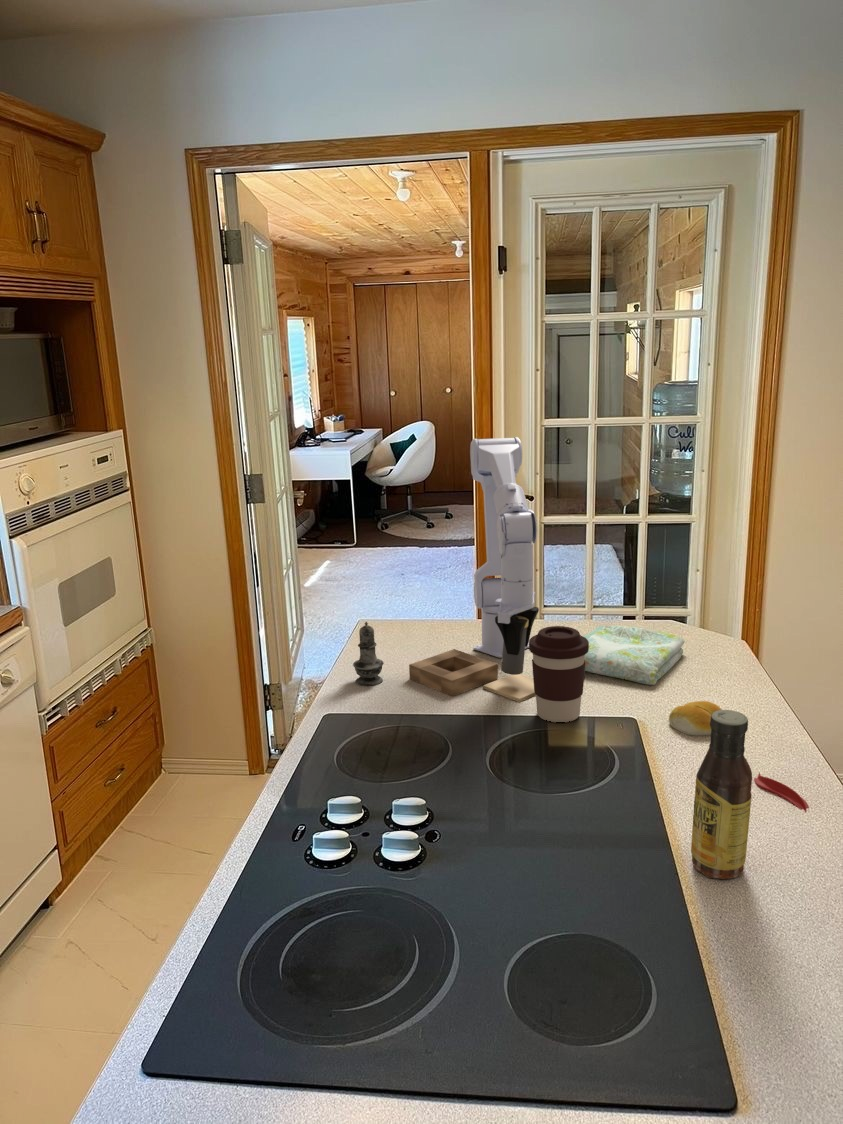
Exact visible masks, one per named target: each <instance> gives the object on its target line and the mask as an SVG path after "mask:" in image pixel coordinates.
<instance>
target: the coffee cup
mask: <svg viewBox="0 0 843 1124" xmlns="http://www.w3.org/2000/svg"><path fill="white" fill-rule="evenodd" d="M583 636H584V635H581V633H580V631H578V629H576V628H574V627H569V626H564V625H563V626H562V625H561V626H560V625H555V626H552V625H551V626H547V627H543V628H541V629H540V630H538V632H537V634H535V635H533V636H531V637H530V638H529V642H528V644H529V648H528V651H529V652H530V653H531V654H532V661H531V664H532V665H531V666H532V678H533V681H534V692H535V694H536V695H535V702H536V703H535V705H536V713H537V716H538V717H539V718H540V719H542V720H544V721H546V720H547V722H549V721H551V723H556V722H565V723H569V721H570V722H573V721H575V720H577V719H578V718H579V717H580V714H581V706H582V695H583V693H584V687H585V686H584V684H585V683H584V682H585V675H586V674H585V672H586V671H585V660H584V658H585V654H586V653H588V651H589V642H588V640H587V639H586V638H585V637H583Z"/></svg>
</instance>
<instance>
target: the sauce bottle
mask: <svg viewBox="0 0 843 1124" xmlns="http://www.w3.org/2000/svg"><path fill="white" fill-rule="evenodd" d="M710 727H711V734H710V739H709V740H710V742H709V746H708V748H707V749H708V750H707V752H706V754H705V756H704V758H703V760H702V762H701V765H700V766H699V769H698V770H697V773H696V777H695V785H694V786H695V788H694V789H695V791H694V801H693V814H692V830H691V834H692V835H691V843H690V851H691V852H690V853H691V858H692V859H691V862H692V865H693V867H694V868H695V869H696V870H697V871H699V872H700V873H701V874H703V875H704V876H706V877H707V878H710V879H719V880H731V879H735V878H737V877H739V876H740V875H742V873H743V871H744V869H745V867H744V866H745V863H746V859H747V850H748V849H747V848H748V847H747V846H748V840H749V826H750V817H751V816H750V815H751V807H752V805H751V804H752V783H753V772H752V768H751V766H750V764H749V762H748V760H747V758H746V756H745V751H746V747H745V741H746V740H745V739H746V733H747V732H748V730H749V719H748V717H747V716H746V715H745V714H743V713H742V712H740V711H737V710H736V711H735V710H731V709H722V710H718V711H715V712H714V713H713V714H712V715H711V719H710Z"/></svg>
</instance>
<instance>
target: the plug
mask: <svg viewBox="0 0 843 1124" xmlns="http://www.w3.org/2000/svg"><path fill="white" fill-rule="evenodd" d="M517 617H519V619H526V620H528V619H527V618H525V617H522V616H517ZM528 622H529V620H528V621H527V622H526V625H525V627H524V630H523V633H522V639H521V647H520V652H519V654H518V655H512V654H507V651H506V648H505V644H504V642H503V654H502V657H501V670H500V671H501V672H502V673H503V674H507V675H518V674H522V673H523V672H524V664H525V654H526V652H525V651H526V649H525V643H526V631H527V627H528Z"/></svg>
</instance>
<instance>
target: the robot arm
mask: <svg viewBox="0 0 843 1124" xmlns="http://www.w3.org/2000/svg"><path fill="white" fill-rule="evenodd" d="M469 448H470V449H469V455H470V469H471V471H470V472H471V473H470V474H471V476H472V480H473V481H476V482H477V483H480V485H481V489H482V493H483V509H484V512H483V513H484V529H485V530H484V531H485V532H484V533H485V549H486V550H485V551H486V552H485V553H486V562H484V564H482V565H481V566H480V567H479V568H477V569H476V571H475V573H474V576H473V577H474V579H473V599H474V605H475V607H476V608H477V609H478V610H479V609H480V610H481V644H478V645H475V646H473V650H475V651H478V652H479V653H480V652H481V653H484V654H487V655H491V656H492V657H496V658H501V659H502V654H503V642H504V644H505V648H506V651H507V654H512V655H518V654H519V652H520V647H521V639H522V633H523V630H524V627H525V625H526V622H527V621H528V620H529V622H528V627H527V631H526V643H525V650H526V649H529V640H530V638H531V634H532V629H533V624H534V622H535V619H536V617H537V615H538V613H539V611H540V610H539V609H540V608H539V607H538V606H535V602H536V591H534V545H533V544H536V542H537V536H538V524H537V519H536V514H535V512H534V510H532V508H529V507H528V503H527V499H526V495H525V494H526V493H525V490H524V488H522V487H521V485H519V484H517V481H516V478H517V475H518V474H519V471H520V468H521V465H522V463H523V444H522V441H521V439H520V438H519V437H518V436H514V437H502V438H501V437H498V438H473V439H472V440H471V442H470V447H469ZM492 576H493V577H492ZM495 576H500V577H495ZM486 577H490V578H486ZM517 616H522V617H525V618H527V619H528V620H526V619H519V617H517Z"/></svg>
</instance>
